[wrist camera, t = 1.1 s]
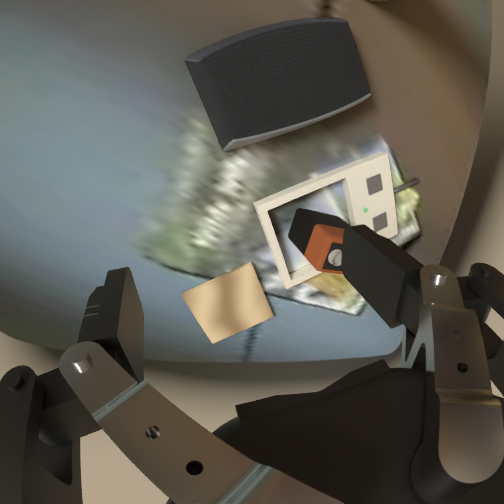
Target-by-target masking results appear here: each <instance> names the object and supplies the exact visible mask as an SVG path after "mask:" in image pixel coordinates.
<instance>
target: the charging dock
mask: <svg viewBox="0 0 504 504" xmlns="http://www.w3.org/2000/svg"><path fill="white" fill-rule="evenodd" d="M339 180H341V181H342V185H343V190H344V194H345V199H346V204H347V209H348V214H349V219H350V224H351V226H355V225H361V224H365V225H366V226H368V227H369V228H370V229H372V230H373V231H374V232H376V233H377V234H379V235H381V236H383V237H386V238H388V239H389V238H391V237H393V236H395V235H397V234H398V230H397V219H396V209H395V200H394V194H395V193H397V192H399V191H402V190H404V189H406V188H408V187H410V186H412V185H414V184H417V183H419V182H420V180H419V179H418V178H417V179H414V180H412V181H410V182H408V183H405V184H403V185H401V186H399V187H397V188H394V189H393V185H392V178H391V171H390V164H389V158H388V153H385V152H382V151H380V152H378V153H375V154H372V155H370V156H367V157H364V158H362V159H359V160H357V161H354V162H351V163H349V164H346V165H344V166H341V167H339V168H336V169H334V170H331V171H329V172H326V173H324V174H321V175H319V176H316V177H314V178H311V179H309V180H306V181H304V182H301V183H299V184H297V185H294V186H292V187H289V188H287V189H285V190H282V191H280V192H277V193H275V194H273V195H270V196H268V197H266V198H263V199H261V200H259V201H256V202H254V203H253V204H254V206H255V209H256V212H257V214H258V217H259V220H260V223H261V225H262V228H263V231H264V233H265V236H266V239H267V241H268V244H269V247H270V250H271V252H272V255H273V258H274V261H275V263H276V266H277V269H278V272H279V274H280V277H281V280H282V283H283V285H284V286H285V288H286V289H288V288H290V287H293V286H295V285H297V284H299V283H301V282H303V281H305V280H307V279H309V278H311V277H313V276H316V275H318V274H320V273H322V272H320V271H317V270H316V269H315V268H314V267H313V266H312V264H310V265H308V266H306V267H304V268H302V269H300V270H298V271H295V272H293V273H291V274H289V273H288V270H287V267H286V264H285V261H284V258H283V255H282V252H281V249H280V246H279V244H278V241H277V238H276V235H275V232H274V229H273V226H272V223H271V221H270V218H269V215H268V212H267V211H268V210H270V209H273V208H275V207H277V206H279V205H282V204H284V203H286V202H289V201H291V200H293V199H296V198H298V197H301V196H303V195H305V194H308V193H310V192H312V191H315V190H317V189H320V188H322V187H324V186H327V185H329V184H332V183H334V182H336V181H339Z"/></svg>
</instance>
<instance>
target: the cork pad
mask: <svg viewBox="0 0 504 504" xmlns="http://www.w3.org/2000/svg"><path fill="white" fill-rule="evenodd" d="M182 297H183V298H184V300H185V302H186V303H187V305H188V306H189V308H190V310H191V311H192V313H193V314H194V316H195V318H196V319H197V321H198V322H199V324H200V325H201V327H202V328H203V330H204V331H205V333H206V335H207V336H208V338H209V339H210V341H211V342H212V344H213V343H215V342H217V341H220V340H222V339H224V338H227V337H229V336H231V335H234V334H236V333H238V332H241V331H243V330H245V329H247V328H250V327H252V326H254V325H256V324H258V323H261V322H263V321H265V320H267V319H269V318H272V317H274V316H273V313H272V311H271V309H270V306H269V304H268V301H267V299H266V297H265V294H264V292H263V290H262V287H261V285H260V282H259V280H258V278H257V275H256V273H255V270H254V268H253V266H252V264H251V262H250V263H248V264H245V265H243V266H241V267H239V268H237V269H234V270H232V271H230V272H228V273H225V274H223V275H221V276H219V277H217V278H214V279H212V280H210V281H208V282H205V283H203V284H201V285H199V286H197V287H194V288H192V289H190V290H188V291H185V292H183V293H182Z"/></svg>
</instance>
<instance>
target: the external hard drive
mask: <svg viewBox="0 0 504 504" xmlns="http://www.w3.org/2000/svg"><path fill="white" fill-rule="evenodd" d="M184 60H185V63H186V65H187V67H188V70H189V72H190V74H191V77H192V79H193V81H194V84H195V86H196V89H197V91H198V93H199V95H200V98H201V100H202V102H203V105H204V107H205V109H206V112H207V114H208V117H209V119H210V121H211V125H212V126H213V129H214V131H215V133H216V135H217V138H218V140H219V141H218V142H219V144H220V145H221V147H222V150H223V151H229V150H233V149H236V148H240V147H243V146H246V145H250V144H253V143H256V142H260V141H263V140H266V139H269V138H273V137H276V136H279V135H282V134H285V133H288V132H291V131H294V130H297V129H300V128H303V127H305V126H308V125H311V124H313V123H316V122H319V121H321V120H324V119H326V118H329V117H331V116H333V115H336V114H338V113H340V112H342V111H344V110H347V109H349V108H351V107H353V106H355V105H357V104H359V103H360V102H362V101H364V100H366V99H367V98H368V97H370V95H371V94H370V89H369V86H368V82H367V79H366V76H365V72H364V69H363V66H362V62H361V60H360V56H359V54H358V51H357V48H356V45H355V42H354V39H353V36H352V33H351V30H350V28H349V25H348V21H346V20H344V19H341V18H334V17H322V18H308V19H299V20H291V21H285V22H280V23H276V24H271V25H267V26H263V27H259V28H256V29H252V30H249V31H246V32H243V33H240V34H237V35H234V36H232V37H228V38H226V39H224V40H221V41H218V42H216V43H214V44H212V45H210V46H207V47H205V48H203V49H201V50H199V51H197V52H195V53H193V54H192V55H190V56H188V57H186V58H185V59H184Z"/></svg>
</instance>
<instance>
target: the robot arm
mask: <svg viewBox="0 0 504 504" xmlns="http://www.w3.org/2000/svg"><path fill="white" fill-rule="evenodd" d="M369 1H373V2H383V1H387V0H369ZM341 268H342V272H343V275H344V276H345V278H346V279H347V280H348V281H349V282H350V283H351V284H352V286H353V287H354V288H355V289H356V290H357V291H358V292H359V293H360V294H361V295H362V297H363V298H364V299H365V300H366V301H367V302H368V303H369V304H370V305H371V307H372V308H373V309H374V310H375V311H376V312H377V313H378V314H379V316H380V317H381V318H382V319H383V320H384V321H385V322H386V324H387V325H388V326H389V327H390V328H391V329H392V328H394V327H397V326H399V325H402V324H404V325H405V328H404V331H403V344H402V363H401V364H402V365H401V368H390V367H389V366H388V365H387V364H386V362H385V361H384V360H383V359H382V360H379V361H377V362H374V363H372V364H369V365H367V366H364V367H362V368H359V369H356V370H354V371H351V372H350V373H348V374H347V375H345V376H344V377H342V378H341V379H339V380H338V381H336V382H334V383H333V384H332V385H330V386H328V387H327V388H325V389H323V390H321V391H319V392H312V393H303V394H289V395H275V396H272V397H268V398H264V399H260V400H256V401H252V402H248V403H244V404H239V405H235V407H236V412H237V417H236V418H234V419H232V420H230V421H228V422H227V423H225V424H223V425H222V426H220V427H219V428H218V429H217V430H215V431H214V432H213V433H211V432H209V431H208V430H207V429H205V428H204V427H202V426H201V425H200V424H198V423H197V422H196V421H194V420H193V419H192V418H190V417H189V416H188V415H186V414H185V413H184V412H183V411H181V410H180V409H179V408H178V407H176V406H175V405H174V404H173V403H171V402H170V401H169V400H168V399H166V398H165V397H164V396H163V395H162V394H160V393H159V392H158V391H157V390H156V389H155V388H153V387H152V386H151V385H150V384H149V383H147V382H146V381H144V375H143V340H144V315H143V309H142V305H141V302H140V299H139V295H138V292H137V289H136V286H135V283H134V280H133V276H132V273H131V270H130V268H129V267H125V268H120V269H115V270H109V271H108V273H107V277H106V280H105V284H104V286H100V287H97V288H96V289H95V290H94V292H93V293H92V294H91V295H90V296H89V299H88V303H87V308H86V310H85V314H84V316H85V317H84V318H83V321H82V325H81V329H80V333H79V337H78V341H77V344H75V345H73V346H71V347H70V348H69V349H67V350H66V351H65V352H64V354H63V355H62V357H61V359H60V362H59V368H57V369H54V370H52V371H49V372H47V373H44V374H41V375H39V376H37V375H36V374H35V372H34V371H33V370H32V369H31V368H30V367H28V366H17V367H14V368H12V369H11V370H9V371H8V372H7V373H6V374H5V375H4V376H3V378H2V379H1V381H0V504H83V502H82V489H81V466H80V437H83V436H85V435H88V434H90V433H93V432H96V431H98V430H101V429H103V430H104V432H105V433H106V434H107V435H108V436H109V437H110V439H111V440H112V441H113V442H114V443H115V444H116V445H117V447H118V448H119V449H120V450H121V451H122V452H123V453H124V454H125V455H126V456H127V457H128V459H130V461H131V462H132V463H133V464H134V465H135V466H136V467H137V468H138V469H139V470H140V471H141V472H142V473H143V474H144V475H145V476H146V477H147V478H148V479H149V480H150V481H151V482H152V483H153V484H154V485H156V486H157V487H158V488H159V489H160V490H161V491H162V492H163V493H164V494H165V495H166V496H168V497H169V499H168V501H167V503H166V504H504V398H501V397H498V396H495V395H493V393H492V388H491V381H492V382H493V383H494V385H495V386H496V387H497V388H498V390H499V391H500V392H501V393H502V395H503V396H504V341H502V340H501V339H500V337H499V336H498V335H497V334H496V333H495V332H494V331H493V330H492V329H491V328H490V327H489V326H488V325H487V324H486V323H485V321H486V319H487V317H488V315H489V312H490V310H491V308H493V309H494V310H495V311H496V312H497V313H498V314H499V315H500V316H501V317H502V318H503V319H504V275H503V274H502V273H501V272H499V271H498V270H497V269H496V268H494V267H492V266H490V265H488V264H485V263H475V264H473V265H472V266H471V268H470V272H469V275H468V276H465V277H456V276H455V274H454V273H453V272H452V271H451V270H449V269H447V268H445V267H443V266H439V265H426V266H423V265H422V264H421V263H420V262H418V261H417V260H416V259H415V258H413V257H412V256H411V255H409V254H408V253H407V252H405V251H403V249H402V248H400V247H399V246H397V245H396V244H395V243H394V242H392V241H391V240H390V239H388V238H386V237H383V236H381V235H379V234H377V233H376V232H374V231H373V230H372V229H370V228H369V227H368V226H366V225H365V224H361V225H355V226H350V227H346V228H345V229H344V232H343V244H342V257H341ZM490 380H491V381H490Z"/></svg>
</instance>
